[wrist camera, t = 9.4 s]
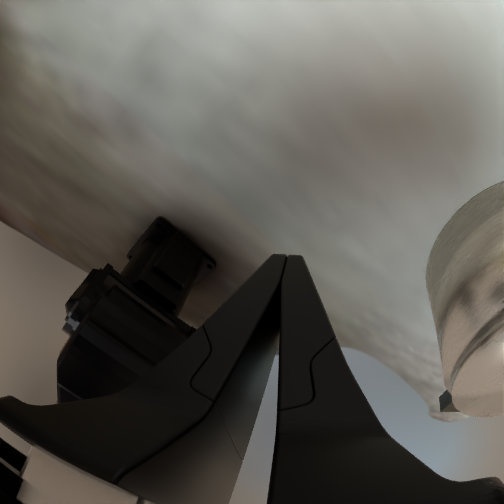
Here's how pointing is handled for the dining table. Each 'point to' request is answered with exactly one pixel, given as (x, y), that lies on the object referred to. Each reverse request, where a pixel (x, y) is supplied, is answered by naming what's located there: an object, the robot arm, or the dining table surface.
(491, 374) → the pressure cooker lid
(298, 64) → the dining table surface
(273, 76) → the dining table surface
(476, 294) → the pressure cooker pot
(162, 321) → the robot arm
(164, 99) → the dining table surface
